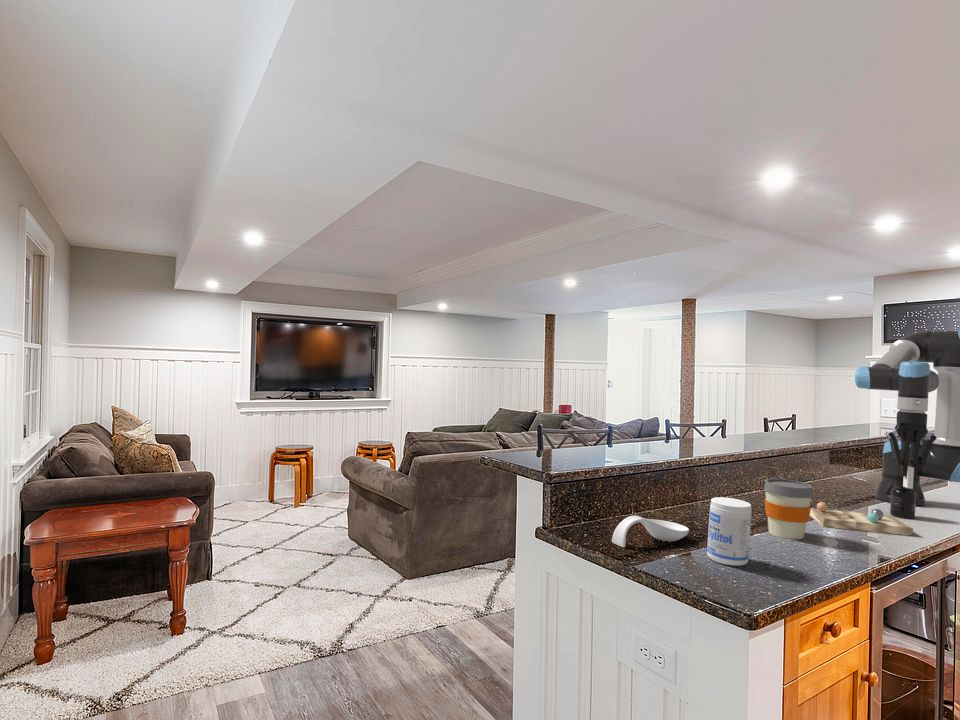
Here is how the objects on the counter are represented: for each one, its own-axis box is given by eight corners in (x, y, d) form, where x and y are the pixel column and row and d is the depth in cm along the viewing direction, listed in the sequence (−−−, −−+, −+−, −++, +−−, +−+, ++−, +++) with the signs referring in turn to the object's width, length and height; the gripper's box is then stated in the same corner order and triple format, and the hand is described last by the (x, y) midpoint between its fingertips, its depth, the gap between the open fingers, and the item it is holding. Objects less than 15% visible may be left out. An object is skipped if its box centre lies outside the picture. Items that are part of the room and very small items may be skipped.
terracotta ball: (825, 510, 185) (825, 501, 185) (828, 513, 182) (829, 503, 182) (815, 509, 185) (815, 500, 185) (818, 512, 182) (818, 502, 182)
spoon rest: (664, 530, 165) (665, 505, 165) (697, 542, 155) (699, 516, 154) (602, 540, 153) (603, 513, 153) (634, 554, 143) (635, 526, 143)
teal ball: (876, 521, 174) (876, 511, 174) (880, 524, 171) (880, 514, 171) (865, 520, 175) (865, 510, 175) (869, 523, 172) (869, 513, 172)
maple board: (892, 523, 182) (892, 516, 182) (912, 536, 169) (913, 527, 169) (809, 515, 187) (810, 508, 187) (823, 526, 175) (823, 518, 175)
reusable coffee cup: (792, 543, 157) (795, 489, 156) (752, 530, 168) (755, 479, 168) (820, 538, 162) (822, 486, 162) (779, 525, 174) (782, 477, 173)
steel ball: (880, 518, 178) (881, 508, 178) (885, 521, 175) (885, 510, 175) (868, 517, 179) (869, 507, 179) (873, 520, 176) (873, 509, 176)
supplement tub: (701, 559, 141) (704, 500, 140) (713, 550, 148) (716, 494, 148) (742, 570, 134) (745, 509, 134) (753, 560, 142) (756, 502, 141)
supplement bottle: (919, 520, 188) (921, 484, 188) (896, 518, 189) (898, 482, 189) (908, 514, 194) (909, 480, 194) (885, 512, 196) (887, 478, 196)
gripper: (893, 410, 173) (889, 487, 173) (943, 414, 169) (939, 492, 169) (882, 409, 180) (878, 482, 180) (930, 412, 177) (925, 487, 177)
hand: (907, 487), depth 175 cm, fingers closed
